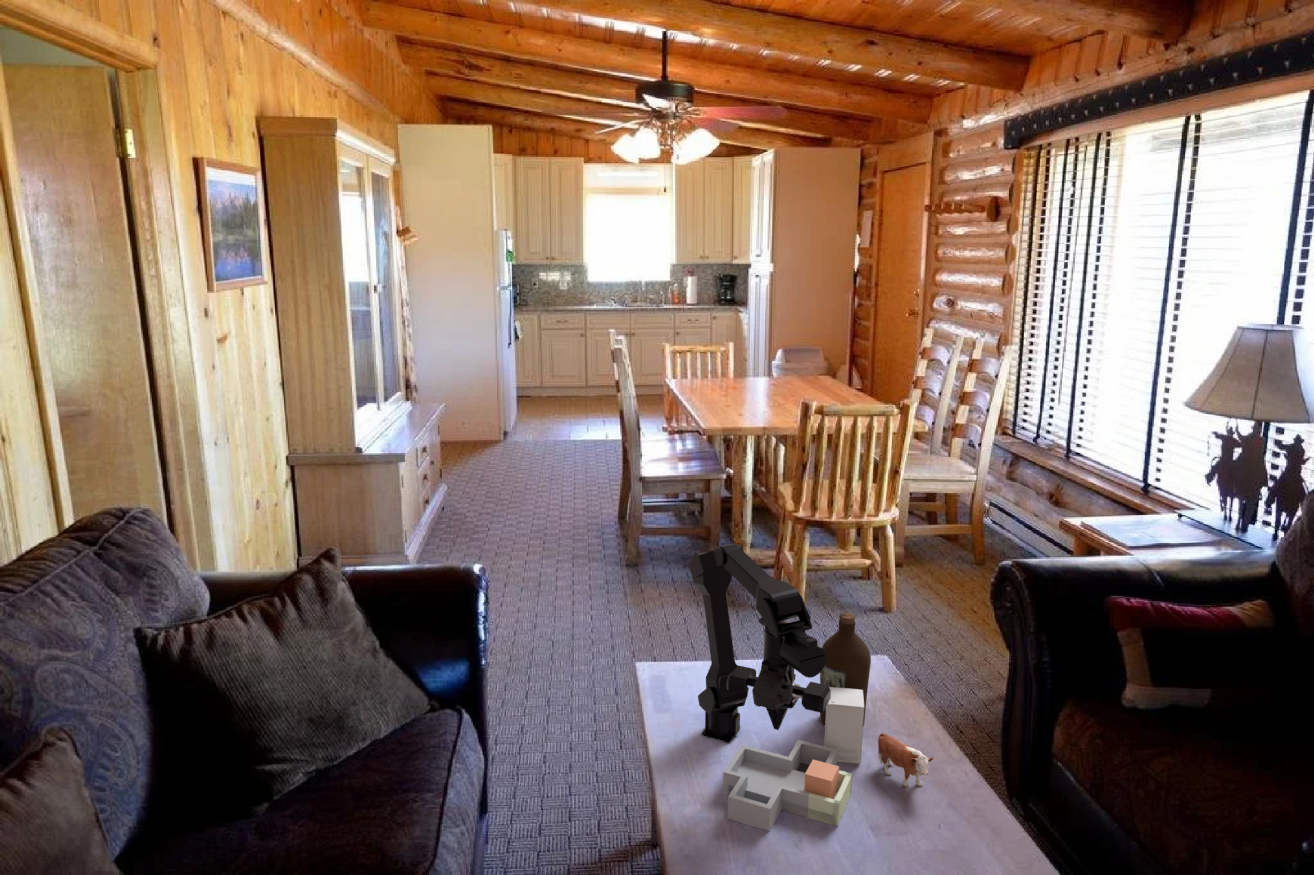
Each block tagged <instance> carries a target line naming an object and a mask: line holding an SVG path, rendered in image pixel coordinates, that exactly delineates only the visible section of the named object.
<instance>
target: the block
mask: <svg viewBox="0 0 1314 875" xmlns="http://www.w3.org/2000/svg"><path fill="white" fill-rule="evenodd" d="M839 770H840V766H839V765H837V766H836V765H832V764H828V763H824V762H821V761H817V760H812V762H811V764H810V766H809V767H808V769H807V771H806V773H805V786H804V791H806V792H809V793H813V794H816V795H820V796H823V797H827V798H831V799H834V797H835V795H836V793H837V791H838V779H839Z"/></svg>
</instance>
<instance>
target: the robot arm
mask: <svg viewBox="0 0 1314 875" xmlns="http://www.w3.org/2000/svg"><path fill="white" fill-rule="evenodd" d="M689 570H690V571H689V572H690V574H691V576H692V582H693V584H694V586H695V587H696V588H697V589H698V591H699V592H700V593H701V595H702V599H703V606H704V614H705V615H704V616H705V622H706V623H705V624H706V629H707V630H706V631H707V639H708V646H709V653H710V654H709V655H710V662H711V663H710V667H709V669H708V670H707V671H708V672H707V673H706V676H705V689H704V690H703V691H701V692H700V693H699V694H698V695H697V700H698V706H699V707H700V708H701V709H702V710H703V711H704V715H705V716H704V730H702V733H701V736H702V737H705V738H710V739H713V740H717V741H721V742H723V743H724V742H725V743H729V744H730V743H732V741H733V740H734V738H736V736H737V735H738V733H739V732H740V731H741V713H739V708H741V707H744V706H745V704H746V701H747V698H748V696H749V690H750V688H749V687H753V688H752V690H751V691H752V700H753V704H754V706H757V707H758V708H759V707H761V708H765V709H766V711H767V713H768V716H769V719H770V722H771V725H772V727H773V730H775V731H779V730H780V727H781V726H782V723H783V721H784V718H785V716H786V713H787V712H788V709H793V708H794V707H795V706H796V704H797V703H798V701H799V699H801V706H802V707H803V708H804V710H807V711H810V712H811V711H812V712H816V713H820V712H823V711H824V709H825V707H826V706H827V704H828V702H829V700H830V699H831V690H830V688H829V687H828V685H824V684H820V682H819V683H818V682H814V681H809V683H808V684H807V685H806V687H803V686H801V684H798V683H795V680H796V676H797V675H796V673H795V671H796V672H798V673H800V674H801V675H802V676H804V677H805V678H808V679H809V678H810V679H811V678H814V677H816V676H818V675H820V672H821V671H822V670H823V668H824V666H825V664H826V655H825V652H824V650H823V649H822V647H820V646H819V645H818V639H817V638H815V637H813V636H810V634H809V635H808V634H807V633H806V631H808V630H812V629H813V624H812V622H811V619H812V618H811V615H810V613H809V611H808V608H807V607H806V604H805V602H804V599H803V597H802V594H801V593H800V591H799V590H798V589H797V588H796V587H795V586H793V585H791V584H790V583H788V582H787V581H784V580H780V579H777V578H774V577H772V576H771V575H769V574H768V573H767V572H766V571H765V570H764V569H763V568H762V567H760V565H759V564H758V563H756V561H754V560H753V558H752V557H750V556H749V555H748V554H747V553H746V552H745V551H744V549H743V547H742V545H741V544H739V543H729V544H724V545H720V546H718V547H717V548H714V549H713V550H710V551H705V552H701V553H695V554H694V555H693V556H692V559H690V561H689ZM733 578H734V579H735V580H736V581H737V582H738V583H739V584H740V585H741V586H742V587H743V588H744V589H745V590H746V591H747V592H748V593H749V594H750V595H751V596H752V598H753V599H754V602H755V603H754V604H755V609H756V610H757V612H758V614H760V616H761V617H760V618H759V619H758V623H759V624H761V625H762V626H763V627H764V631H763V633H764V636H763V660H762V661H761V667H760V671H759V673H758V676H757V670H756V669H755V668H752V667H748V666H744V665H738V664H737V663H736V659H735V651H734V645H733V644H734V642H733V636H732V635H733V634H732V628H731V620H730V612H729V604H728V595H727V592H728V590H729V588H730V585H731V582H732V581H733ZM796 618H798V619H799V620H795V621H791V622H787V621H788V620H792V619H796Z"/></svg>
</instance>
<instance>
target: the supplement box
mask: <svg viewBox="0 0 1314 875" xmlns="http://www.w3.org/2000/svg"><path fill="white" fill-rule="evenodd" d="M829 688H830V690H831V699H830V700H829V702H828V704H827V706H826V719H825V727H824V740H823V746H825V747H829V748H833V749H837V750H838V752H837V763H838V762H840V763H849V764H857V765H858V764H862V751H863V748H862V747H863V734H864V733H863V730H864V727H863V718H864V697H863V690H859V689H849V688H837V687H829Z"/></svg>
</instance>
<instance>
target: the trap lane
mask: <svg viewBox="0 0 1314 875" xmlns="http://www.w3.org/2000/svg"><path fill="white" fill-rule="evenodd" d="M837 752H838V750H837V749H833V748H829V747H825V746H824V745H820V744H816V743H812V742H809V741H804V740H800V739H797V741H796V742H795V745H794V746H793V748H792V749H791V751H790V753H789V754H788V756H787V755H782V754H780V753H775V752H771V751H767V750H764V749H760V748H757V747H752V746H749V745H745V744H741V745H740V747H739V748H738V750H737V752H736V753H735V754H734V756H733V757H732V758H731V760H730V761H729V763H728V765H727V766H726V768H725V769H724V770H723V772H722V775H723V776H722V778H723V780H722V782H723V783H722V793H723V794H724V795H725V794H726V795H727V819H728V820H731V821H735V822H739V823H741V824H744V825H748V826H752V827H753V828H754V827H755V828H758V829H761V830H765V831H768V832H771V829H772V828H773V826H774V825H775V822H776V820H777V818H778V817H779V815H780V813H781V811H783V812H786V813H791V814H795V815H797V816H801V817H804V818H808V819H811V820H814V821H818V822H822V823H825V824H828V825H830V826H831V825H832V826H835V827H838V826H839V824H840V822H841V819H842V817H843V816H844V813H845V810H846V809H847V805H848V803H849V800H850V799H851V797H852V790H853V788H852V787H853V773H852V772H848V771H844V770H840V769H839V779H838V791H837V793H836V795H835V797H834V799H831V798H827V797H823V796H820V795H816V794H813V793H809V792H806V791H804V786H805V773H806V771H807V769H808V767H809V766H810V764H811V762H812V760H817V761H821V762H824V763H828V764H832V765H836V766H838V761H837ZM728 794H729V795H728Z"/></svg>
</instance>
